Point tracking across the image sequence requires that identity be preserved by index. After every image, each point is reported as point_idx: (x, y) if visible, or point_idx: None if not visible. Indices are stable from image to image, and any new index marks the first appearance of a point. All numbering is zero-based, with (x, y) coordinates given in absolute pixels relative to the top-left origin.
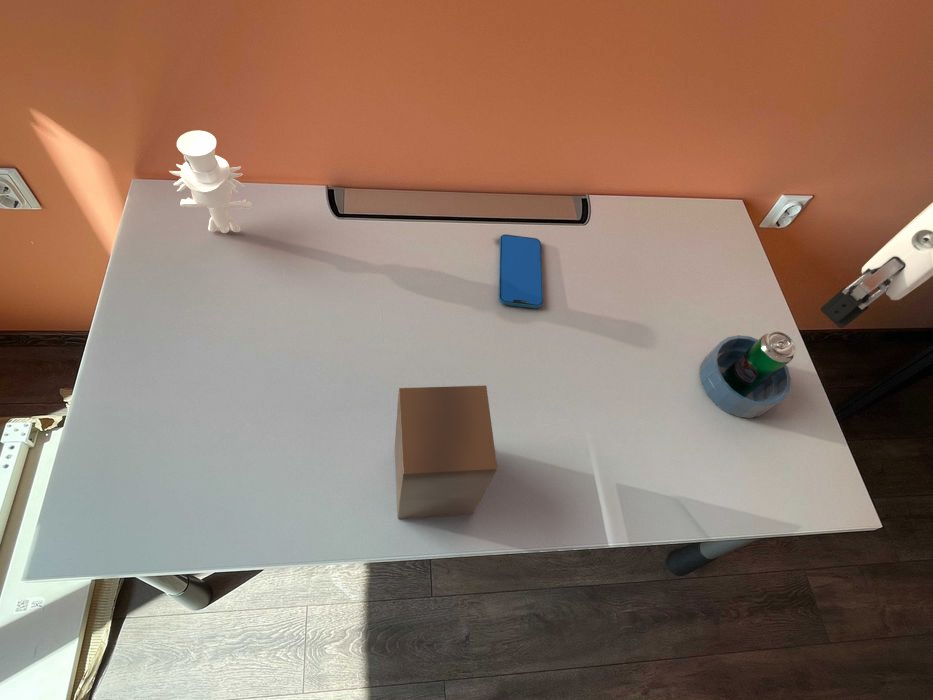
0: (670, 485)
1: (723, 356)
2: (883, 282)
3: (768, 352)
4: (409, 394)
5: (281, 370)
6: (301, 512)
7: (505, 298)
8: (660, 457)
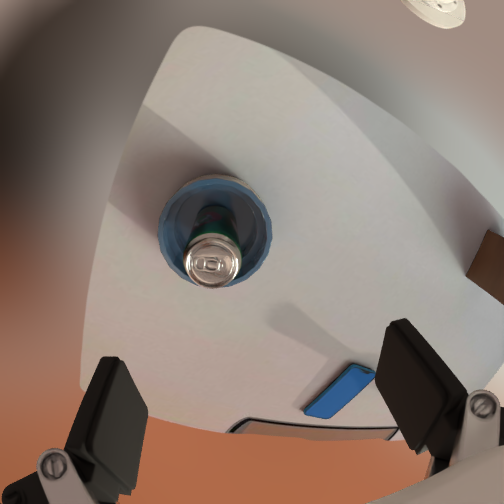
0: (376, 160)
1: None
2: (128, 403)
3: (239, 260)
4: None
5: (482, 345)
6: None
7: (372, 375)
8: (366, 189)
